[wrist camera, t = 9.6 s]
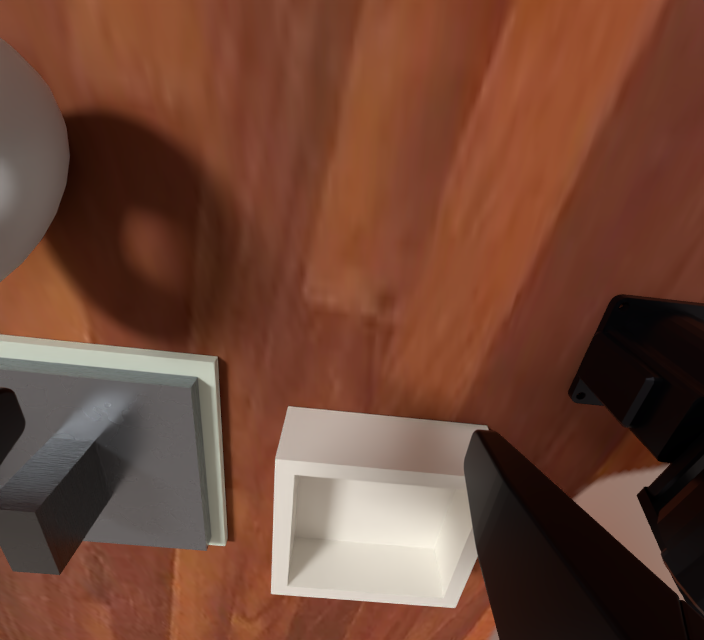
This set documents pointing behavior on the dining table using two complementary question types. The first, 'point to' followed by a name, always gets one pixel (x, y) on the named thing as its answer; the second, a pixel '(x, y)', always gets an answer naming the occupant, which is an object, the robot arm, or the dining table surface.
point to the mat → (155, 363)
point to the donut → (28, 158)
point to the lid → (101, 463)
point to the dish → (372, 508)
